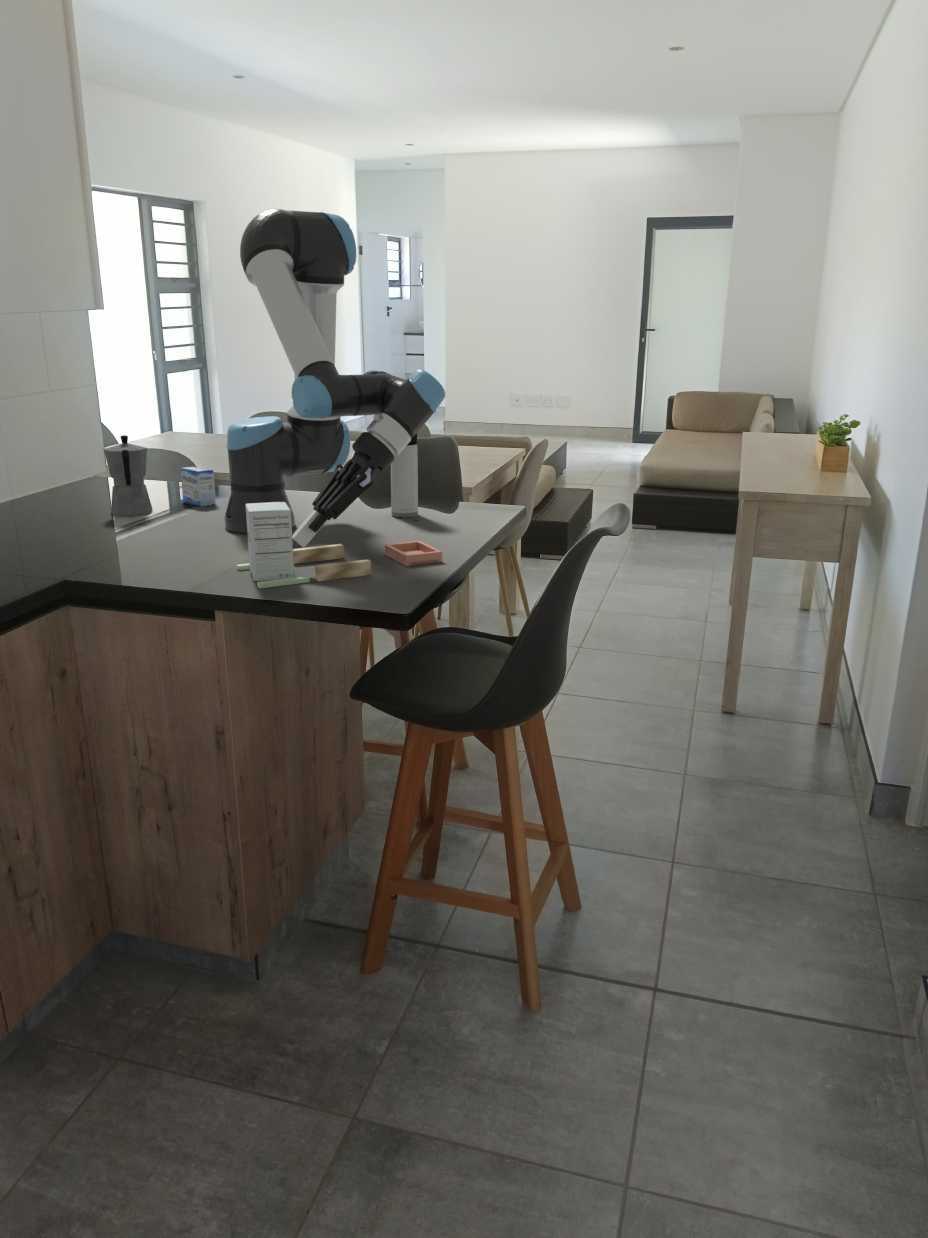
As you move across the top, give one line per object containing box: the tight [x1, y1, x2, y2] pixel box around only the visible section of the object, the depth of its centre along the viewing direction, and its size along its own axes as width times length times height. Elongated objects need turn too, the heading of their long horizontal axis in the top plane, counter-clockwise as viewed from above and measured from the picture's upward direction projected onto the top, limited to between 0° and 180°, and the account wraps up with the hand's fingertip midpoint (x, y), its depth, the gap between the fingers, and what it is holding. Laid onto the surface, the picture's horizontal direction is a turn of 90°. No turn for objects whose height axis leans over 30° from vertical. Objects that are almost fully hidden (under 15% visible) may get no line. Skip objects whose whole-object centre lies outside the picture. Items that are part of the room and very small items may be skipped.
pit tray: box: [383, 540, 443, 567], centre depth 178 cm, size 8×10×2 cm
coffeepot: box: [103, 434, 153, 517], centre depth 213 cm, size 15×9×18 cm, turn 19°
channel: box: [293, 543, 372, 582], centre depth 170 cm, size 10×15×2 cm, turn 29°
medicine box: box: [180, 466, 217, 507], centre depth 227 cm, size 8×4×9 cm, turn 50°
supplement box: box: [246, 502, 295, 582], centre depth 164 cm, size 7×7×13 cm
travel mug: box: [390, 432, 419, 519], centre depth 214 cm, size 6×7×20 cm
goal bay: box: [235, 562, 311, 589], centre depth 165 cm, size 9×14×1 cm, turn 29°
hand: (297, 542), depth 166 cm, fingers closed
